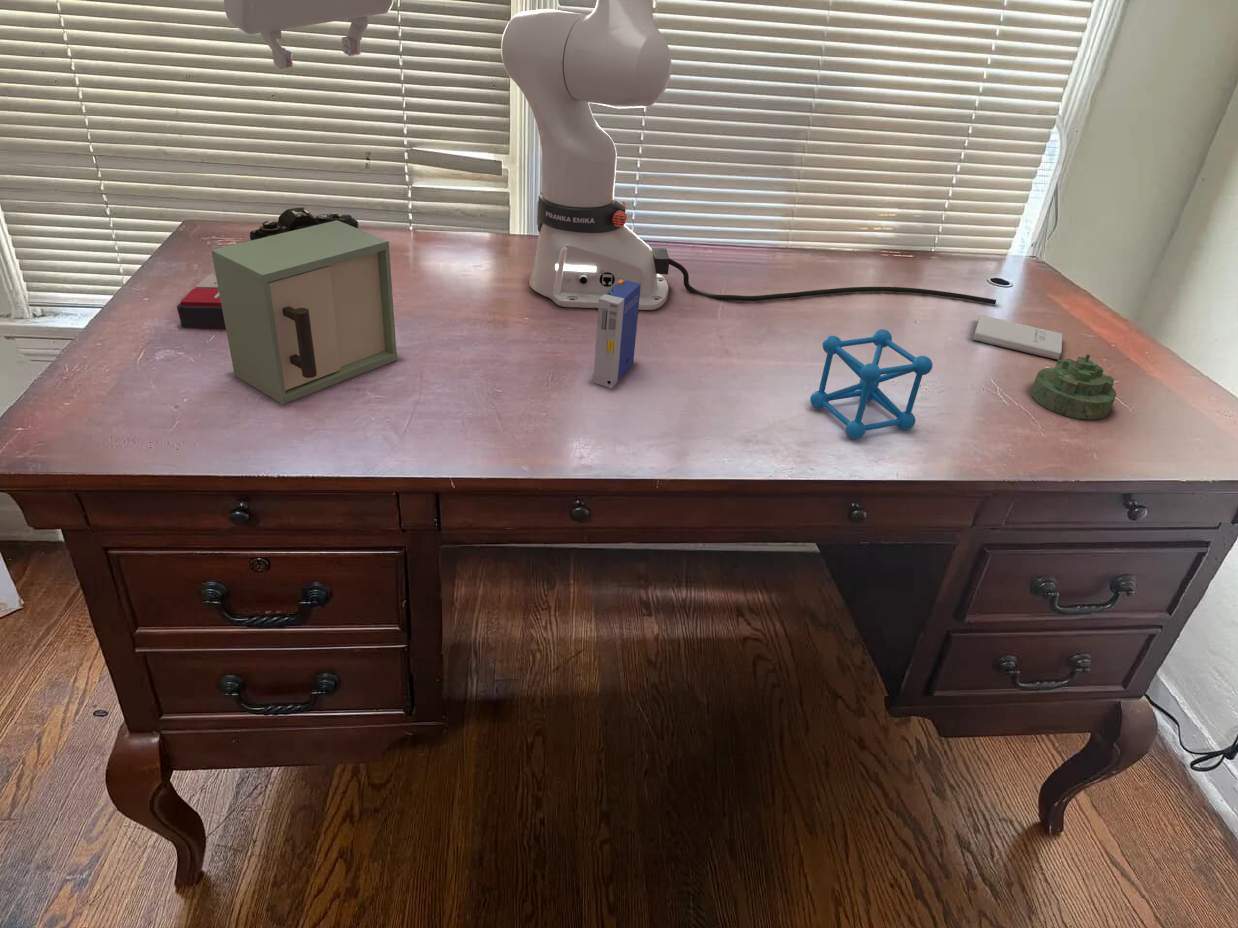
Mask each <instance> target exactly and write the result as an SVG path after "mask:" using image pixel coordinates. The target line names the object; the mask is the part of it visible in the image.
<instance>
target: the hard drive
mask: <svg viewBox="0 0 1238 928" xmlns="http://www.w3.org/2000/svg"><path fill="white" fill-rule="evenodd" d="M977 319H978V320H977V322H976V327H975V331H974V334H973V338H972V340H973V341H976V342H980V343H984V344H989V345H994V346H997V347H1001V348H1005V349H1010V350H1014V351H1018V352H1021V353H1027V354H1029V355H1030V354H1031V355H1035V356H1039V357H1042V358H1043V357H1044V358H1048V359H1052V360H1057V361H1058V360H1060V358H1061V355H1062V352H1063V350H1062V349H1063V333H1060V332H1057V331H1053V330H1047V329H1044V328H1039V327H1036V326H1031V325H1027V324H1022V323H1018V322H1014V321H1010V320H1005V319H1001V318H997V317H993V316H989V315H984V314H979V317H978V318H977Z"/></svg>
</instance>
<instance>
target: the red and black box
mask: <svg viewBox="0 0 1238 928" xmlns="http://www.w3.org/2000/svg"><path fill="white" fill-rule="evenodd" d="M176 310H177V314H178V317H179V321H180V324H181V327H183V328H215V329H217V328H220V329H222V328H223V329H224V328H225V329H226V327H225V321H224V316H223V311H222V305H221V300H220V295H219V290H218V284H217V279H216V274H211V273H210V274H207V275H205V277H204V278H203V279H202V280H201V281H199V282H198V283H197V285H196V286H195V287H194V288H192V289H191V290H190V291H189V292H188V293H187V294H186V295H185V296H184V297H183V298H182V299H181V300H180V303H178V304H177V306H176Z"/></svg>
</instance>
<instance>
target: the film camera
mask: <svg viewBox="0 0 1238 928" xmlns="http://www.w3.org/2000/svg"><path fill="white" fill-rule="evenodd" d="M336 220H338V221H340V222H343V223H345V224H348V225H350V226H353V227H355V228H357V229H359V221H358V220H357V219H355V218H353V217H352V215H350V214H341V215H339V214H338V213H336V212H332V213H321V214H318V215H317V216H314V215H313V214H311V213H310V211H308V210H307V209H306V208H305V207H292V208H288V209H285V210H284V211H283V212H282V213H280V215H279V217H278V219H277V221H272V220H271V221H270V220H267V221H263V222H262V223H261V224H262V225H260V226H259V228H258V229H253V230H251V231H250V232H249V239H250V241H251V240H256V239H260V238H264V237H268V236H273V235H277V234H281V233H285V232H290V231H294V230H298V229H302V228H306V227H311V226H315V225H319V224H323V223H328V222H332V221H336Z"/></svg>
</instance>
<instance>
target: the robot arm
mask: <svg viewBox="0 0 1238 928" xmlns="http://www.w3.org/2000/svg"><path fill="white" fill-rule="evenodd" d="M393 4H394V0H223V5H224V11H225V15H226V17H227V19H228V20H229V21H230V23H231V24H232V25H233V26H235V28H237V29H239V30H240V31H242V32H244V33H245V34H248V35H255V34H260V36H261V37H262V39H263V40H264V41H265V43H266V44H267V46H268V47H269V49H270V50H271V52H272V61H273V64H274V66H275V67H277V68H278V69H280V70H283V69H288V68H293V66H294V61H293V52H291V51H290V50H288V49H287V48H285V47H282V45H281V43H280V41H279V40H282V38H283V37H282V30H287V29H294V28H299V27H306V26H314V25H320V24H325V23H332V22H333V23H334V22H339V21H346V20H347V21H349V22H351V23H350V24H349V25H350V26H349V29H348V31H347V35H346V36H342V37H341V45H342V47H341V49H342V53H344V54H345V55H347V56H348V57H354V56H359V55H361V54H362V50H361V41H362V39H363V37H364V35H365V32H366V30H367V28H368V27H369V26H368V25H369V23H368V22H369V21H368V17H372V16H373V17H374V16H378V15H386V14H388V13H389V12H390V10H391V8H392V7H393ZM500 54H501V60H502V64H503V67H504V69H505V72H506V74H507V75H508V77H509V78H510V79H511V80H512V81H513V82H514V84H515V85H516V87H518V89H519V90H520V92H521V93H522V95H523V96H524V97H525V100H526V102H527V103H528V107H530V110H531V112H532V115H533V118H534V121H535V124H536V127H537V132H538V137H539V142H540V155H541V161H540V162H541V192H540V194H539V195H538V199H537V204H536V206H537V207H536V225H537V231H538V238H537V245H536V252H535V256H534V262H533V264H532V269H531V272H530V275H529V278H528V285H529V287H530V288H531V290H533V291H534V292H536V293H537V294H539V295H541V296H544V297H546V298H548V299H550V300H551V301H552V302H553V303H554V304H556V305H557V306H559V307H561V308H578V309H579V308H580V309H585V308H586V309H598V306H599V298H601V297H602V296H603V295H604V294H605V293H606V292H607V291H609V290H610V289H611V288H612V287H613V286H614V285H616V284H617V282H618V281H619V280H620V279H623V280H627V281H632V282H636V283H641V288H640V298H639V309H638V311H655V310H657V309H659V308H661V307H662V306H664V304H665V303H666V302H667V300H668V297H669V283H668V281H667V279H666V277H664V275H669V270H670V269H669V268H670V266H672V267H674V268H675V269H677V270H679V271H680V272H681V274H682V277H683V286H684V288H685V289H686V290H687V291H689V293H691V294H694V295H699V296H703V297H707V298H710V299H713V300H718V301H719V300H720V301H737V302H761V301H771V300H782V299H783V300H784V299H794V298H804V297H813V296H822V295H823V296H824V295H833V294H846V293H847V294H848V293H870V292H874V293H875V292H879V293H880V292H881V293H882V292H883V293H887V292H888V293H905V294H917V295H918V294H919V295H927V296H928V295H929V296H935V297H944V298H952V299H959V300H964V301H972V302H977V303H982V304H988V305H994V306H995V305H996V303H997V299H995V298H989V297H983V296H977V295H970V294H963V293H957V292H951V291H943V290H937V289H927V288H917V287H915V288H914V287H903V286H852V287H849V286H848V287H838V288H837V287H836V288H825V289H816V290H815V289H814V290H806V291H805V290H803V291H796V292H782V293H772V294H763V295H761V294H760V295H739V294H738V295H737V294H710V293H704V292H701V291H699V290H697V289H695V288H694V287H693V286H692V285H691V284H690V282H689V279H690V277H689V272H688V270H687V269H686V268H685V267H684V265H682V264H681V263H679V262H677V261H675V260H674V259H671V258H670V257H669V252H668V250H667V248H664V247H663V248H662V247H652V248H651V246H650V245H649V244H648V243H646V242H645V241H644V240H643V239H641V238H640V237H639V236H638V235H637V234H636V233H635V232H634V231H632V229H630V228H629V227H628V226H627V225H626V221H627V218H628V215H627V207H626V202H625V201H624V200H623V201H622V202H620V200H618V199H617V198H615V185H616V183H615V182H616V171H617V159H618V154H617V148H616V145H615V143H614V141H613V139H612V137H611V136H610V135H609V134H608V133H607V132H606V130H604V129H603V128H601V126H600V125H599V124H598V122H597V120H596V119H595V117H594V115H593V112H592V110H591V106H590V104H594V105H595V104H596V105H601V106H605V107H610V108H615V109H636V108H637V109H639V108H648V107H652V106H653V105H654V104H655V103H656V102H657V101H658V100H659V99H661V97H662V95H663V94H664V92H665V91H666V89H667V87H668V84H669V83H670V79H671V75H672V55H671V50H670V47H669V44H668V42H667V40H666V38H665V37H664V36H663V34H662V33H661V32H660V30H659V28H658V27H657V24H656V22H655V19H654V13H653V0H596V3H595V7H594V9H593V10H592V12H591V13H589V14H584V13H579V12H578V13H577V12H571V11H564V10H558V9H553V8H543V9H542V8H541V9H533V10H526V11H520V12H518V13H516V14H515V15H514V16H512V17H511V18H510V20H509V22H507V25H506V26H505V29H504V31H503V34H502V38H501V45H500Z"/></svg>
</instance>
